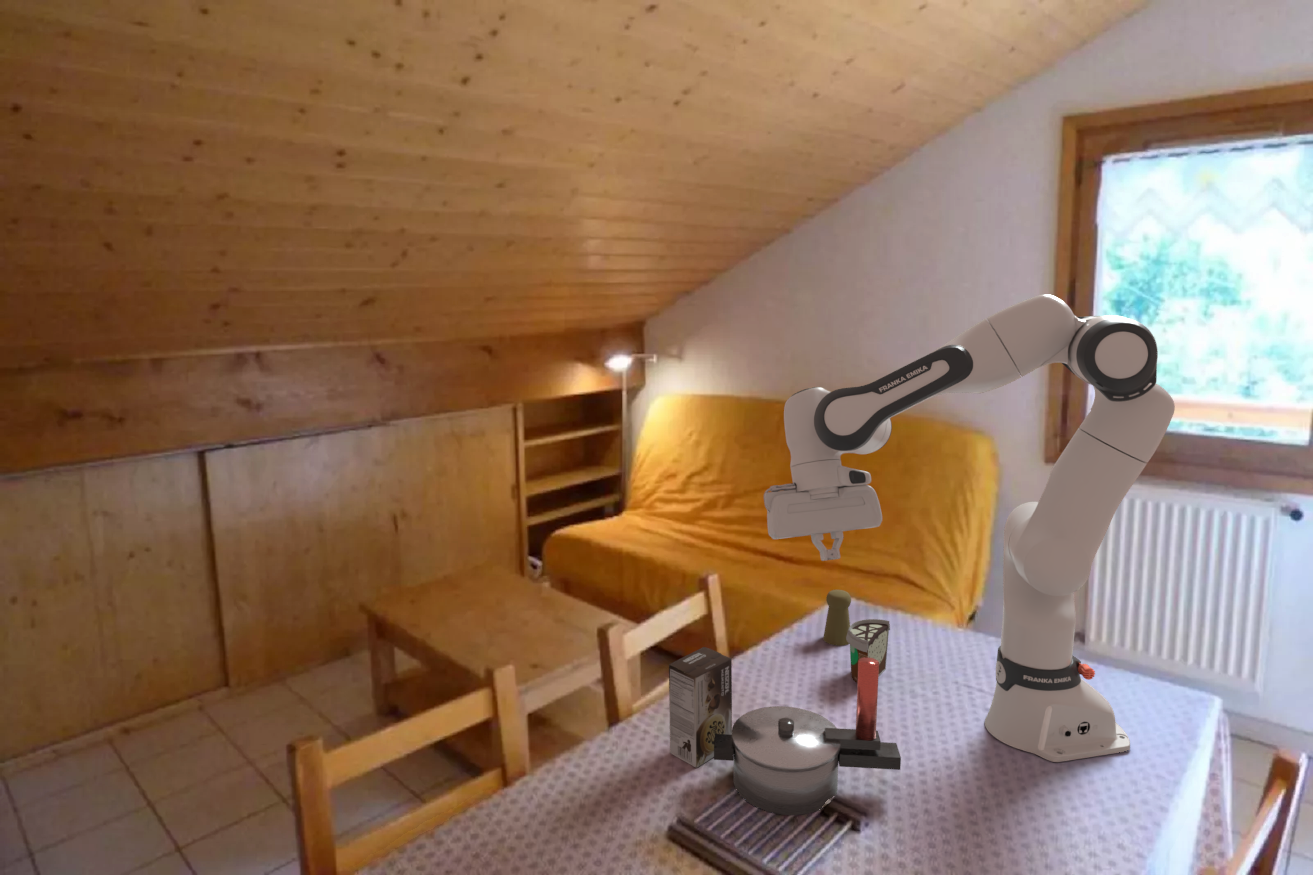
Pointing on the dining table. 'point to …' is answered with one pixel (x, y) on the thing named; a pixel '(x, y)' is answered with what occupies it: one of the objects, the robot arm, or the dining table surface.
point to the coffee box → (699, 704)
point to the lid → (808, 730)
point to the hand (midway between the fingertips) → (830, 559)
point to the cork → (837, 618)
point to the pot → (798, 777)
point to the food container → (868, 643)
